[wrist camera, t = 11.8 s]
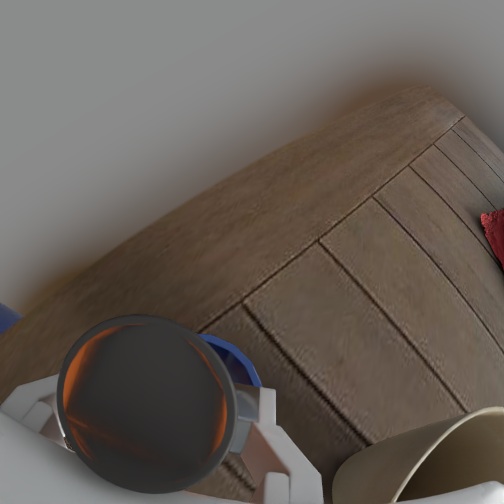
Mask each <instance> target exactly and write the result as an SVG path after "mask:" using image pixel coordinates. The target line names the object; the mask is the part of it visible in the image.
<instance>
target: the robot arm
mask: <svg viewBox="0 0 504 504" xmlns="http://www.w3.org/2000/svg"><path fill="white" fill-rule="evenodd" d="M58 377H59V374H57V375H53V376H50V377H47V378H44V379H40V380H37V381H34V382H31V383H27V384H24V385H20V386H18V387H17V388H16V389H15V390H14V391H13V392H12V393H11V394H10V396H9V397H8V398H7V399H6V400H5V401H4V402H3V403H2V405H1V406H0V504H324V501H323V491H322V481H321V474H320V473H319V472H318V471H317V470H316V469H315V468H314V466H313V465H312V464H311V463H310V462H309V461H308V459H307V458H306V457H305V456H304V455H303V453H302V452H301V451H300V450H299V449H298V447H297V446H296V445H295V444H294V443H293V441H292V440H291V439H290V438H289V436H288V435H287V434H286V433H285V431H284V430H283V429H282V428H281V426H276V391H275V389H269V388H263V387H256V386H251V385H245V384H240V383H235V382H233V385H234V388H235V392H236V397H237V403H238V423H237V429H236V434H235V438H234V440H233V443H232V446H231V448H230V450H229V452H231V453H236V454H241V455H240V456H241V458H242V460H243V462H244V464H245V465H246V467H247V469H248V471H249V473H250V475H251V476H252V478H253V480H254V482H255V484H256V485H257V487H258V488H257V490H256V491H255V493H254V495H253V496H252V498H251V500H250V501H249V502H242V501H235V500H229V499H223V498H217V497H212V496H207V495H202V494H197V493H193V492H189V491H184V490H181V491H178V492H172V493H166V494H147V493H139V492H135V491H130V490H127V489H124V488H121V487H119V486H116V485H114V484H112V483H110V482H108V481H107V480H105V479H103V478H102V477H100V476H99V475H97V474H96V473H95V472H94V471H92V470H91V469H90V468H89V467H88V466H87V465H86V464H85V463H84V462H83V461H82V460H81V459H80V458H79V457H78V455H77V454H76V453H75V452H74V451H72V450H70V449H68V448H67V446H66V444H65V441H64V438H63V437H65V434H64V431H63V429H62V426H61V423H60V419H59V416H58V410H57V403H56V390H57V382H58ZM387 504H504V485H503V484H501V483H499V482H497V481H488V482H484V483H481V484H478V485H475V486H471V487H468V488H464V489H461V490H457V491H453V492H449V493H445V494H440V495H436V496H431V497H426V498H421V499H415V500H409V501H402V502H395V503H387Z"/></svg>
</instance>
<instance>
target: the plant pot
mask: <svg viewBox="0 0 504 504" xmlns="http://www.w3.org/2000/svg"><path fill="white" fill-rule="evenodd" d="M488 481H497V482H499V483H501V484H503V485H504V407H498V406H493V407H486V408H483V409H479V410H476V411H473V412H470V413H467V414H463V415H460V416H457V417H453V418H450V419H446V420H442V421H439V422H436V423H432V424H429V425H426V426H423V427H420V428H416V429H413V430H410V431H407V432H405V433H402V434H399V435H396V436H393V437H391V438H388V439H385V440H383V441H380V442H378V443H376V444H373V445H371V446H369V447H367V448H365V449H363V450H361V451H359V452H357V453H355V454H354V455H352V456H351V457H349V458H348V459H347V460H346V461H345V462H344V463H343V464H342V465H341V466H340V468H339V469H338V471H337V472H336V475H335V477H334V480H333V484H332V500H333V504H387V503H395V502H402V501H409V500H415V499H421V498H426V497H431V496H436V495H440V494H445V493H449V492H453V491H457V490H461V489H464V488H468V487H471V486H475V485H478V484H481V483H484V482H488Z"/></svg>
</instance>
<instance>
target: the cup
mask: <svg viewBox="0 0 504 504" xmlns="http://www.w3.org/2000/svg"><path fill="white" fill-rule="evenodd" d="M198 335H199V336H200V337H202V338H203V339H204V340H205V341H206V342H207V343H208V344H209V345H210V346H211V347H212V348H213V349H214V351H215V352H216V353H217V354H218V355H219V357H220V358H221V360H222V361H223V363H224V365H225V366H226V368H227V370H228V372H229V374H230V376H231V379H232V382H235V383H240V384H245V385H251V386H256V387H262V384H261V382H260V379H259V377H258V375H257V372H256V370H255V368H254V365H253V363H252V362H251V361H250V360H249V359H248V358H247V357H246V356H245V355H244V354H243V353H242V352H241V351H240V350H239V349H238V348H237V347H236V346H235V345H233V344H231V343H229V342H226V341H224V340H222V339H220V338H217V337H215V336H213V335H207V334H198Z"/></svg>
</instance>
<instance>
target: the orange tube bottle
mask: <svg viewBox="0 0 504 504" xmlns="http://www.w3.org/2000/svg"><path fill="white" fill-rule="evenodd" d="M56 403H57V410H58V416H59V419H60V423H61V426H62V429H63V431H64V434H65V436H66V438H67V440H68V442H69V443H70V445H71V447H72V448H73V450H74V451H75V453H76V454H77V455H78V457H79V458H80V459H81V460H82V461H83V462H84V463H85V464H86V465H87V466H88V467H89V468H90V469H91V470H92V471H94V472H95V473H96V474H97V475H99V476H100V477H102V478H103V479H105V480H107V481H108V482H110V483H112V484H114V485H116V486H119V487H121V488H124V489H127V490H130V491H135V492H139V493H147V494H166V493H172V492H178V491H181V490H184V489H187V488H189V487H191V486H193V485H195V484H197V483H199V482H201V481H202V480H204V479H205V478H207V477H208V476H209V475H210V474H212V473H213V472H214V471H215V470H216V469H217V468H218V467H219V465H220V464H221V463H222V461H223V460H224V459H225V457H226V455H227V454H228V452H229V450H230V448H231V446H232V443H233V440H234V438H235V434H236V429H237V423H238V403H237V397H236V392H235V388H234V385H233V382H232V379H231V376H230V374H229V372H228V370H227V368H226V366H225V365H224V363H223V361H222V360H221V358H220V357H219V355H218V354H217V353H216V352H215V351H214V349H213V348H212V347H211V346H210V345H209V344H208V343H207V342H206V341H205V340H204V339H203V338H202V337H200V336H199V335H198V334H196V333H195V332H193V331H192V330H191V329H189V328H187V327H185V326H183V325H182V324H180V323H177V322H175V321H172V320H170V319H167V318H163V317H159V316H154V315H147V314H131V315H123V316H119V317H115V318H111V319H109V320H106V321H104V322H101V323H100V324H98V325H96V326H94V327H93V328H91V329H90V330H89V331H87V332H86V333H85V334H83V335H82V336H81V337H80V338H79V339H78V340H77V341H76V343H75V344H74V345H73V346H72V348H71V349H70V350H69V352H68V354H67V356H66V358H65V359H64V362H63V364H62V367H61V369H60V373H59V377H58V382H57V390H56Z"/></svg>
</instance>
